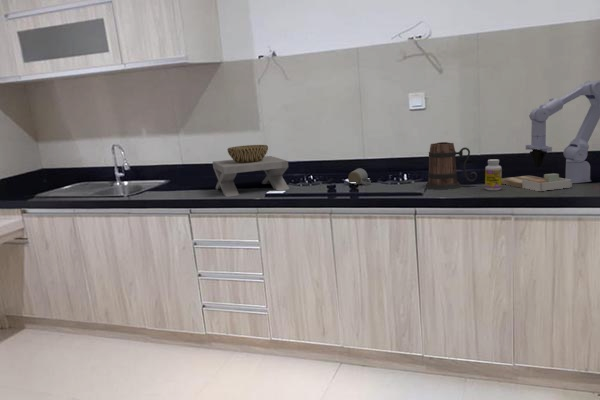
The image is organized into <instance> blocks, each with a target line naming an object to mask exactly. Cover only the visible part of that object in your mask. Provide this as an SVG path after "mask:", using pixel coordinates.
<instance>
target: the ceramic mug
mask: <svg viewBox="0 0 600 400" xmlns="http://www.w3.org/2000/svg"><path fill="white" fill-rule="evenodd" d="M347 176H348V177H347V180H348V182H349V183H350V182H356V183H358V185H357V186H360V185H361V184H362V185H364V186H370V185H371V182H372V181H371V179H369V178H368V176H369V175H368V173H367V170H365V169H363V168H360V167H359V168H358V167H357V168H355V170H353V171H351V172H349V174H348V175H347Z"/></svg>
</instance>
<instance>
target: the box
mask: <svg viewBox="0 0 600 400" xmlns="http://www.w3.org/2000/svg"><path fill="white" fill-rule="evenodd" d="M572 186H573V183H572V180H570V179H566V178H563V177H559V181H555V182H547V183H537V182H532V181H527V180H522V188H521V189H524V188H525V190H529V189H530V190H531V191H534V190H535V192H538V191H544V192H547V191H546V190H553V191H555V190H554V189H561V190H564V189H563V188H569V189H571V188H570V187H572ZM572 188H573V187H572Z"/></svg>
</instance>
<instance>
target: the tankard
mask: <svg viewBox="0 0 600 400" xmlns="http://www.w3.org/2000/svg"><path fill="white" fill-rule="evenodd" d="M464 150H466V151H467V156H466V158H465V159H464V157H465V156H463V151H464ZM457 155H458V156H459V157H460V158H461V159H464V163H463V166H462V167H463V170H462V171H463V175H464V178H465V179H466V180H467V181H468V182H474V181H476V180H477V179H478V173H477V172H476V171H471V172H470V174H469V175H470V176H468V175H467V171H466V164H467V162H468V160H469V158H470V155H471V151H470V149H469V148H468V147H465V146H464V147H462V148H461V149H460V150H459V151H456V149H455V144H454V142H448V141H447V142H446V141H444V142H443V141H441V142H435V143H430V145H429V152H428V175H427V177H428V181H427V182H426V183H425V185H424V187H425V186H426V188H428V189H427V190H431V189H433V191H449V190H448V189H451V190H457V189H460V188H462V185H461V184H460V182H459V181H458V172H457V161H456V160H457V158H456V157H457ZM472 175H473V176H472ZM469 177H471V178H469ZM426 188H425V189H426Z"/></svg>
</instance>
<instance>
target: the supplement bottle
mask: <svg viewBox="0 0 600 400" xmlns="http://www.w3.org/2000/svg"><path fill="white" fill-rule="evenodd" d="M499 163H500V159H495V158H494V159H488V160H487V165H486V166H485V169H484V170H485V172H484V176H485V177H484V185H485V186H484V188H485V190H487V191H499V190H501V189H502V185H503V184H502V178H503V177H502V175H503V174H502V173H503V171H502V169H503V167H502V166H501V165H500V164H499Z"/></svg>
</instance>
